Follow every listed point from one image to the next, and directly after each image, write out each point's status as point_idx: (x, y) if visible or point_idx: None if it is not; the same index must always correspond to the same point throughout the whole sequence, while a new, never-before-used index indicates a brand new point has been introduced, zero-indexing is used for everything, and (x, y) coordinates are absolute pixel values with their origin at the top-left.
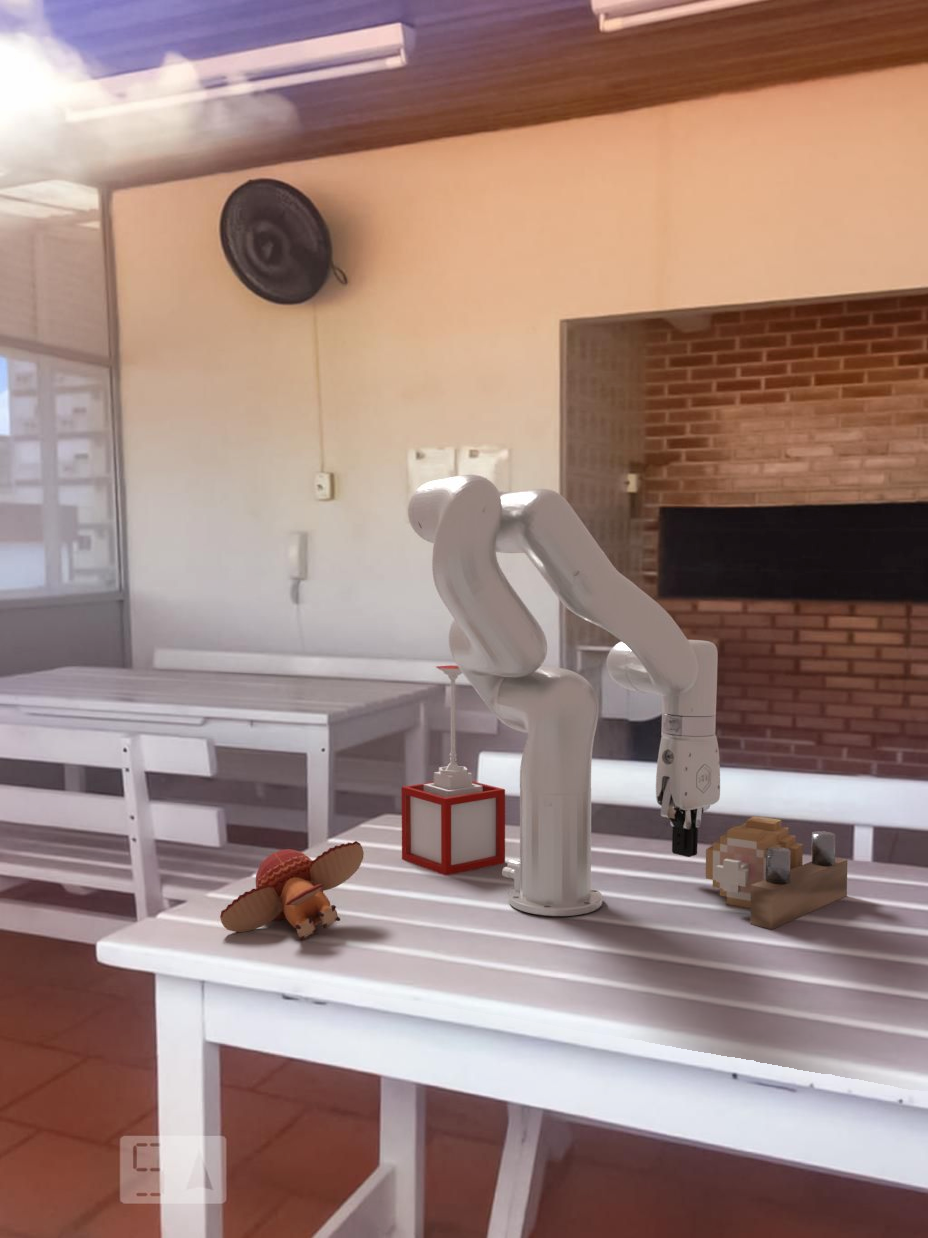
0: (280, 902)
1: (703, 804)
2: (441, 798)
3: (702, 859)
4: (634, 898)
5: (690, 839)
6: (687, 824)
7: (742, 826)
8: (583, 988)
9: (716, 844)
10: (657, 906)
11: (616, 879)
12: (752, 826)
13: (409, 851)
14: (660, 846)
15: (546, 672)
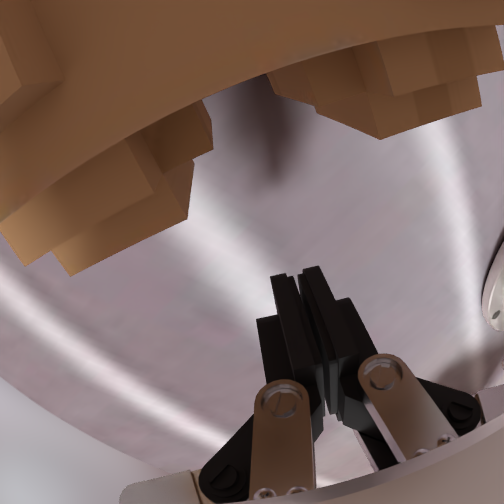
0: None
1: (372, 497)
2: None
3: (86, 364)
4: (465, 210)
5: (339, 317)
6: (396, 375)
7: (67, 134)
8: None
9: (495, 47)
10: (478, 135)
11: (378, 332)
12: (27, 19)
13: None
14: (125, 435)
15: None
